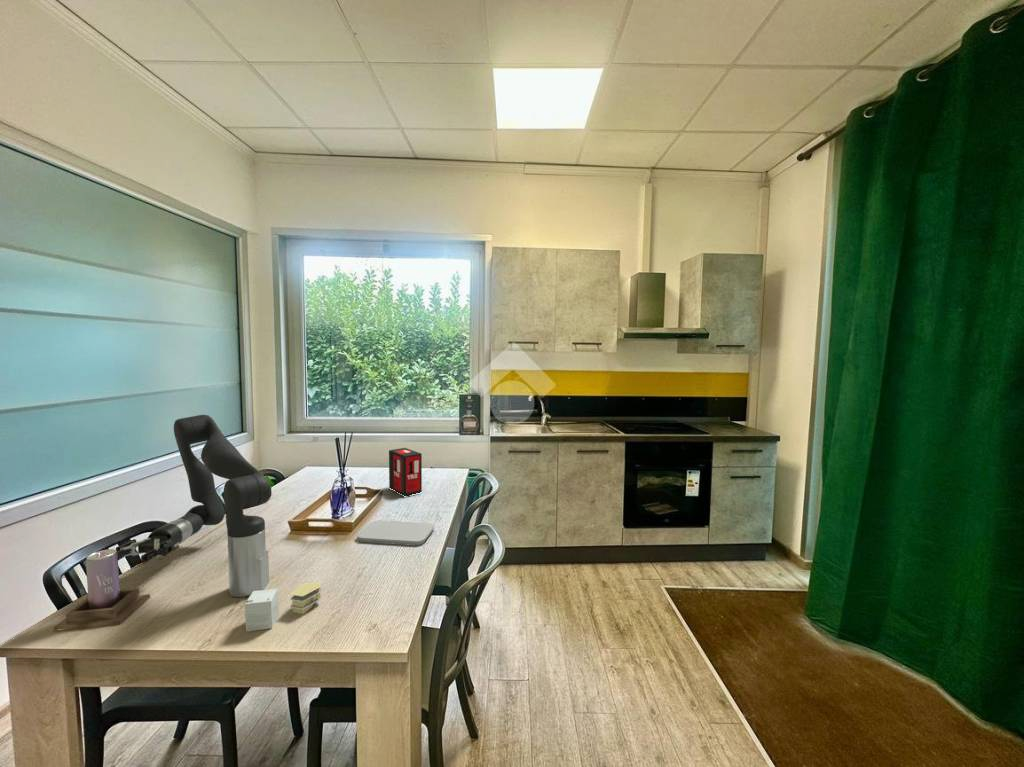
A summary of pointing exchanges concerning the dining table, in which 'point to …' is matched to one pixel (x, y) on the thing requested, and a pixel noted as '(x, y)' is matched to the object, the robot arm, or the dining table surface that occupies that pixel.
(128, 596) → the can holder
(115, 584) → the beverage can
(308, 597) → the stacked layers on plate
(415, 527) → the tablet
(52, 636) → the dining table surface
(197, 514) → the robot arm
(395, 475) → the cleaning product box
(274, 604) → the skincare box
